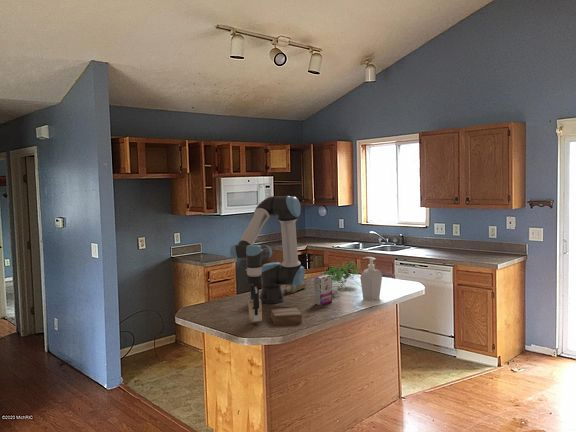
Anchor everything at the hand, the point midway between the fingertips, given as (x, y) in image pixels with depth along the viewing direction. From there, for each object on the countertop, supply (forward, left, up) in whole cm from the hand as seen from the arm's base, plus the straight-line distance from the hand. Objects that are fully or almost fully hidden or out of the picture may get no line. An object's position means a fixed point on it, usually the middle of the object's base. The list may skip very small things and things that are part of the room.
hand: (255, 319), depth 263 cm
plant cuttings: (-64, +71, -3) cm, 95 cm away
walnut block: (-3, +17, -3) cm, 17 cm away
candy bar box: (-33, +46, -3) cm, 56 cm away
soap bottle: (-37, +77, -3) cm, 85 cm away
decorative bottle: (-69, +35, -3) cm, 77 cm away
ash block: (0, 0, 0) cm, 0 cm away
